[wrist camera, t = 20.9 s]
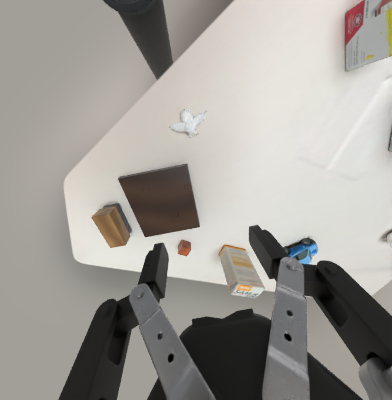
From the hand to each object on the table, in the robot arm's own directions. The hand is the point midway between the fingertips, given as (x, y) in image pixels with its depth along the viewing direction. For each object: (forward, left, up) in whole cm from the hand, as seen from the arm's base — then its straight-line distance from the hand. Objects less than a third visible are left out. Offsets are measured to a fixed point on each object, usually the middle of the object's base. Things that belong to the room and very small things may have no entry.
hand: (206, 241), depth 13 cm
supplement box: (+30, +8, -23) cm, 39 cm away
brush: (+9, -22, -23) cm, 33 cm away
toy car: (+34, +30, -23) cm, 51 cm away
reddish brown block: (+24, -6, -22) cm, 32 cm away
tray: (+7, -9, -23) cm, 26 cm away
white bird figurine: (-10, +1, -23) cm, 25 cm away
